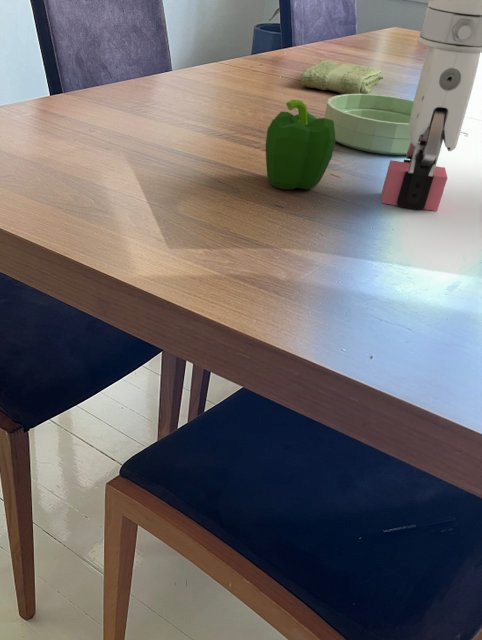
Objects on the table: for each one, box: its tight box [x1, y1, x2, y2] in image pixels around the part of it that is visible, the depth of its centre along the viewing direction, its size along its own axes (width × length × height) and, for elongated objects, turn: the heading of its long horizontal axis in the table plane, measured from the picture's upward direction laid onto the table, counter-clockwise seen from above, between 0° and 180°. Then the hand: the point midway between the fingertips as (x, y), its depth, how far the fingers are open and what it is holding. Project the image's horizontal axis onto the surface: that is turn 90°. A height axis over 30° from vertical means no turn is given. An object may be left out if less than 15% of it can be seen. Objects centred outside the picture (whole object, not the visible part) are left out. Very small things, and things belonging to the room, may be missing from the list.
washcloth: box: [300, 59, 384, 95], centre depth 138 cm, size 13×18×3 cm
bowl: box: [323, 93, 414, 156], centre depth 109 cm, size 17×17×4 cm
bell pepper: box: [264, 99, 337, 190], centre depth 88 cm, size 8×8×10 cm
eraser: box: [381, 160, 448, 212], centre depth 88 cm, size 6×4×4 cm, turn 76°
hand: (409, 199), depth 89 cm, fingers closed on eraser, 4 cm apart
